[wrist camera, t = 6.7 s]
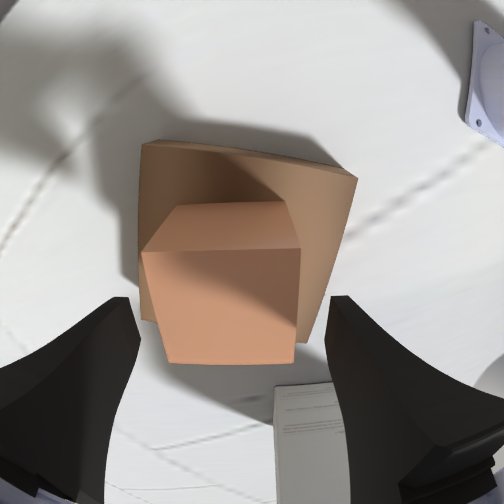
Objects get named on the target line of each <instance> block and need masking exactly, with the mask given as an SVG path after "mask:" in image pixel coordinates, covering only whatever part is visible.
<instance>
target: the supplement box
mask: <svg viewBox="0 0 504 504" xmlns="http://www.w3.org/2000/svg"><path fill="white" fill-rule="evenodd" d="M273 430H274V450H275V470H276V493H277V504H350V476H349V463H348V453H347V444H346V436H345V428H344V423H343V418H342V413H341V410H340V406H339V402H338V399H337V395H336V392H335V388H334V384H333V382H330V383H321V384H310V385H296V386H280V387H275V389H274V413H273Z"/></svg>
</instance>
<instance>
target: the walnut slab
mask: <svg viewBox="0 0 504 504" xmlns="http://www.w3.org/2000/svg"><path fill="white" fill-rule="evenodd" d="M357 181H358V178H357V177H355V176H354V175H352V174H351V173H349V172H348V171H346V170H345V169H343V168H339V167H334V166H330V165H325V164H321V163H316V162H311V161H307V160H302V159H297V158H291V157H286V156H281V155H275V154H269V153H263V152H257V151H251V150H244V149H238V148H231V147H223V146H216V145H207V144H199V143H190V142H180V141H169V140H155V141H152V142H149V143H146V144H142V150H141V163H140V180H139V204H138V270H139V294H140V310H141V320H146V321H151V322H156V323H157V319H156V315H155V312H154V308H153V304H152V300H151V296H150V291H149V287H148V283H147V278H146V274H145V269H144V265H143V260H142V255H141V252H142V250H143V249H144V247H145V246H146V245H147V243H148V242H149V241H150V239H151V238H152V237H153V235H154V234H155V233H156V231H157V230H158V229H159V227H160V226H161V225H162V223H163V222H164V221H165V219H166V218H167V217H168V216H169V214H170V213H171V212H172V210H173V209H174V208H175V207H176V205H187V204H207V203H231V202H267V201H285V202H286V205H287V208H288V211H289V214H290V217H291V219H292V222H293V225H294V228H295V231H296V234H297V237H298V240H299V243H300V246H301V264H300V282H299V299H298V313H297V327H296V339H295V342H297V343H307V342H308V339H309V336H310V334H311V331H312V328H313V325H314V323H315V320H316V317H317V314H318V311H319V308H320V306H321V303H322V300H323V297H324V294H325V291H326V288H327V285H328V282H329V279H330V276H331V273H332V269H333V266H334V263H335V260H336V257H337V253H338V250H339V247H340V243H341V240H342V237H343V233H344V230H345V226H346V223H347V219H348V216H349V212H350V208H351V204H352V201H353V197H354V193H355V189H356V185H357Z"/></svg>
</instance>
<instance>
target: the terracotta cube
mask: <svg viewBox="0 0 504 504" xmlns="http://www.w3.org/2000/svg"><path fill="white" fill-rule="evenodd" d="M141 255H142V260H143V265H144V269H145V274H146V278H147V283H148V287H149V291H150V296H151V300H152V304H153V308H154V312H155V315H156V319H157V323H158V327H159V330H160V334H161V338H162V341H163V345H164V348H165V351H166V355H167V358H168V361H169V363H179V364H205V365H262V364H289V363H293V362H294V351H295V339H296V327H297V313H298V299H299V282H300V264H301V246H300V243H299V240H298V237H297V234H296V231H295V228H294V225H293V222H292V219H291V217H290V214H289V211H288V208H287V205H286V202H285V201H267V202H231V203H207V204H187V205H176V207H175V208H174V209H173V210H172V212H171V213H170V214H169V216H168V217H167V218H166V219H165V221H164V222H163V223H162V225H161V226H160V227H159V229H158V230H157V231H156V233H155V234H154V235H153V237H152V238H151V239H150V241H149V242H148V243H147V245H146V246H145V247H144V249H143V250H142V252H141Z"/></svg>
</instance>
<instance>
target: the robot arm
mask: <svg viewBox="0 0 504 504" xmlns="http://www.w3.org/2000/svg"><path fill="white" fill-rule="evenodd" d="M485 30H486V31H485ZM476 120H477V121H478V125H477V124H476ZM465 122H466V124H467V125H468V126H469V127H471V128H472V129H474V130H476V131H478V132H479V133H481V134H483V135H485V136H486V137H488V138H490V139H491V140H493V141H495V142H496V143H498V144H499V145H501V146H503V147H504V38H503V37H502V36H501V35H499V34H498V33H497V32H495V31H494V30H493V29H492V28H490V27H489V26H488V25H486V24H485V23H483V22H482V21H480V20H477V21H475V22H474V36H473V56H472V68H471V78H470V87H469V94H468V101H467V108H466V114H465ZM324 341H325V348H326V355H327V361H328V366H329V370H330V374H331V377H332V381H333V384H334V388H335V392H336V395H337V399H338V402H339V406H340V410H341V413H342V418H343V423H344V428H345V436H346V444H347V453H348V463H349V476H350V504H504V468H502V469H500V470H499V471H497V472H496V473H495V474H493V473H492V470H491V467H493V466H494V465H495V461H494V458H493V456H492V455H493V454H495V453H496V452H497V451H498V450H499V449H500V448H501V447H502V446H503V445H504V399H503V398H500V397H497V396H494V395H491V394H488V393H485V392H482V391H480V390H477V389H475V388H473V387H470V386H468V385H466V384H464V383H462V382H459V381H457V380H455V379H453V378H451V377H450V376H448V375H446V374H444V373H443V372H441V371H439V370H437V369H436V368H434V367H432V366H431V365H429V364H428V363H426V362H425V361H423V360H422V359H420V358H419V357H417V356H416V355H414V354H413V353H412V352H410V351H409V350H408V349H406V348H405V347H404V346H403V345H401V344H400V343H399V342H398V341H396V340H395V339H394V338H393V337H392V336H390V335H389V334H388V333H387V332H386V331H385V330H384V329H383V328H381V327H380V326H379V325H378V324H377V323H376V322H375V321H374V320H373V319H372V318H371V317H370V316H369V315H368V314H367V313H366V312H364V311H363V310H362V309H361V308H360V307H359V306H358V305H357V304H356V303H355V302H354V301H353V300H352V299H351V298H350V297H349V296H348V295H346V296H331V299H330V306H329V313H328V320H327V326H326V333H325V339H324ZM140 342H141V337H140V334H139V331H138V328H137V325H136V322H135V318H134V315H133V312H132V308H131V305H130V302H129V298H128V297H113V298H111V299H110V300H108V301H107V302H105V303H104V304H102V305H101V306H99V307H98V308H97V309H95V310H94V311H93V312H91V313H90V314H89V315H87V316H86V317H85V318H83V319H82V320H81V321H79V322H78V323H77V324H75V325H74V326H73V327H71V328H70V329H68V330H67V331H65V332H64V333H63V334H61V335H60V336H58V337H57V338H56V339H54V340H53V341H51V342H50V343H48V344H46V345H45V346H43V347H42V348H40V349H38V350H36V351H35V352H33V353H31V354H29V355H28V356H25V357H23V358H21V359H19V360H17V361H15V362H13V363H11V364H9V365H7V366H4V367H2V368H0V504H74V503H78V504H104V483H105V470H106V460H107V453H108V447H109V441H110V436H111V431H112V427H113V422H114V418H115V415H116V412H117V408H118V406H119V403H120V400H121V398H122V395H123V393H124V390H125V388H126V385H127V383H128V380H129V377H130V375H131V372H132V370H133V367H134V365H135V362H136V358H137V354H138V351H139V346H140ZM65 499H66V500H65ZM67 500H69V501H71V502H74V503H71V502H69V501H67Z"/></svg>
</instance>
